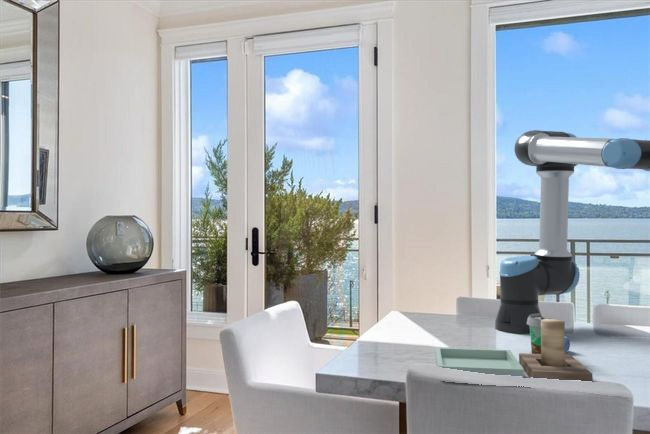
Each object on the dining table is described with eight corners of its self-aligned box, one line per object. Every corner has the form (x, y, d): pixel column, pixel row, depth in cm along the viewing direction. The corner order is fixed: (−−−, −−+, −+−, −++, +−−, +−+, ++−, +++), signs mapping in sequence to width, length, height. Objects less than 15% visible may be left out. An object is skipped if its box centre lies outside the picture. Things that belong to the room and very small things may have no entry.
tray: (435, 359, 135) (435, 347, 135) (509, 362, 131) (509, 349, 131) (438, 379, 117) (438, 366, 117) (524, 383, 114) (524, 369, 114)
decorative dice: (548, 350, 143) (548, 336, 143) (556, 348, 145) (555, 334, 145) (562, 353, 140) (562, 338, 140) (570, 351, 142) (570, 336, 142)
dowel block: (519, 363, 130) (519, 353, 130) (571, 365, 128) (571, 355, 128) (533, 382, 114) (532, 371, 114) (592, 385, 112) (592, 373, 112)
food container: (518, 350, 144) (518, 313, 144) (540, 349, 144) (540, 312, 144) (541, 362, 131) (540, 321, 131) (564, 361, 132) (564, 321, 132)
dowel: (539, 370, 124) (538, 318, 124) (561, 371, 123) (561, 319, 123) (544, 376, 119) (543, 322, 119) (567, 377, 118) (567, 323, 118)
